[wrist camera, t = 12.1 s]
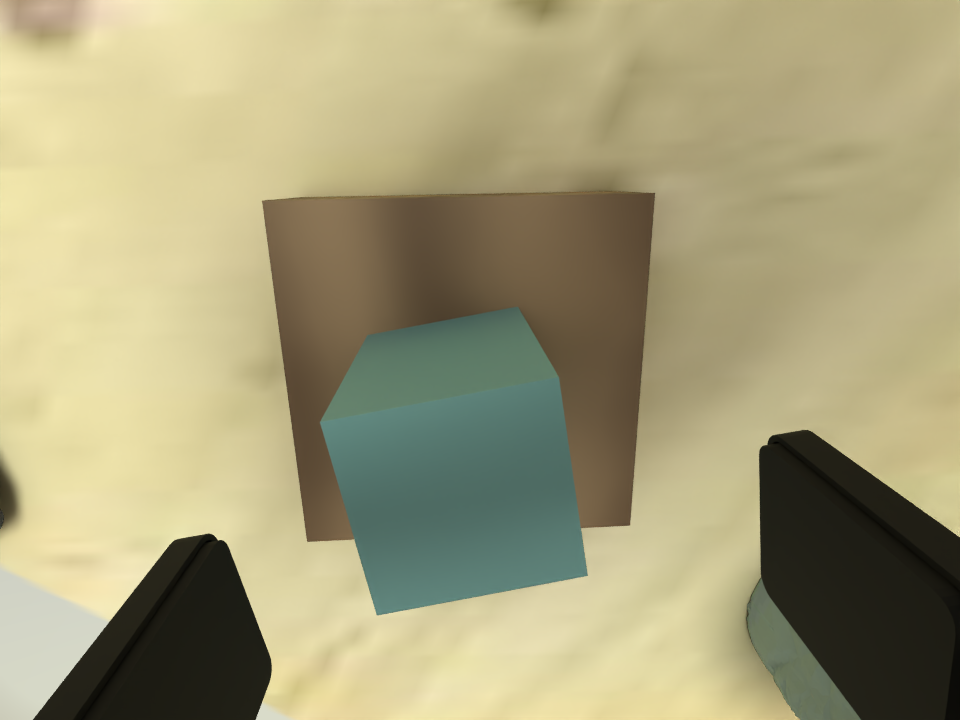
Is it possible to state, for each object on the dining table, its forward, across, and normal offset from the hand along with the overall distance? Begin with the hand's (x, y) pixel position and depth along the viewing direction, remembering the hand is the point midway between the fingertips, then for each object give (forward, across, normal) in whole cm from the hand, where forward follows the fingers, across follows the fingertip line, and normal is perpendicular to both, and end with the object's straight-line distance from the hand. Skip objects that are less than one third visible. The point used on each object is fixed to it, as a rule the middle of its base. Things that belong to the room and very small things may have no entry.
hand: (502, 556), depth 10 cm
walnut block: (+14, +1, 0) cm, 15 cm away
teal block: (+10, +1, 0) cm, 10 cm away
